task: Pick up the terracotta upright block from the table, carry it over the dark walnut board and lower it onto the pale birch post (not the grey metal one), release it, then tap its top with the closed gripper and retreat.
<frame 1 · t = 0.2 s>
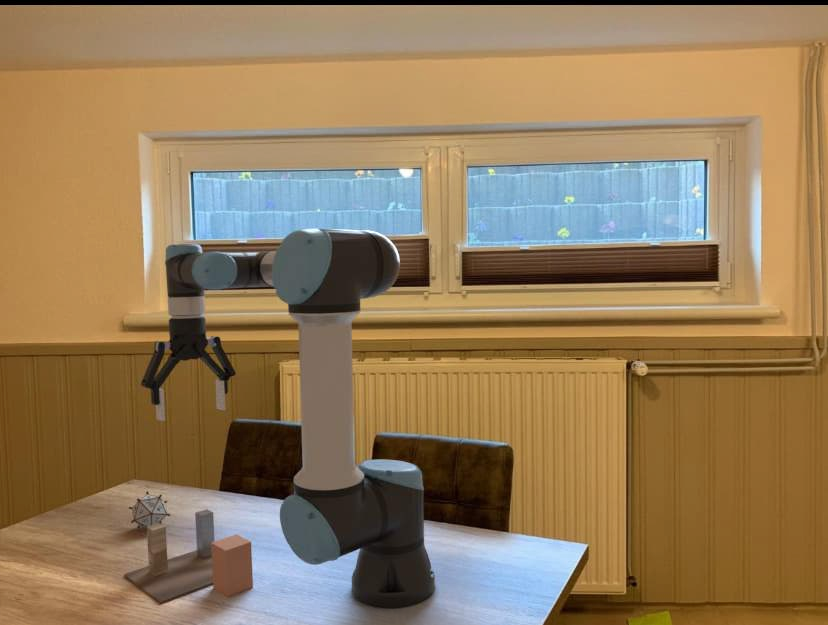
hand: (191, 414, 147), 28 cm above the table, fingers open, 13 cm apart
grey post: (206, 557, 138), resting on board
knobbed grey icosahedron: (150, 529, 155), on the table
terracotta upright block: (233, 587, 125), on the table
birch post: (158, 573, 131), resting on board
board: (187, 573, 131), on the table
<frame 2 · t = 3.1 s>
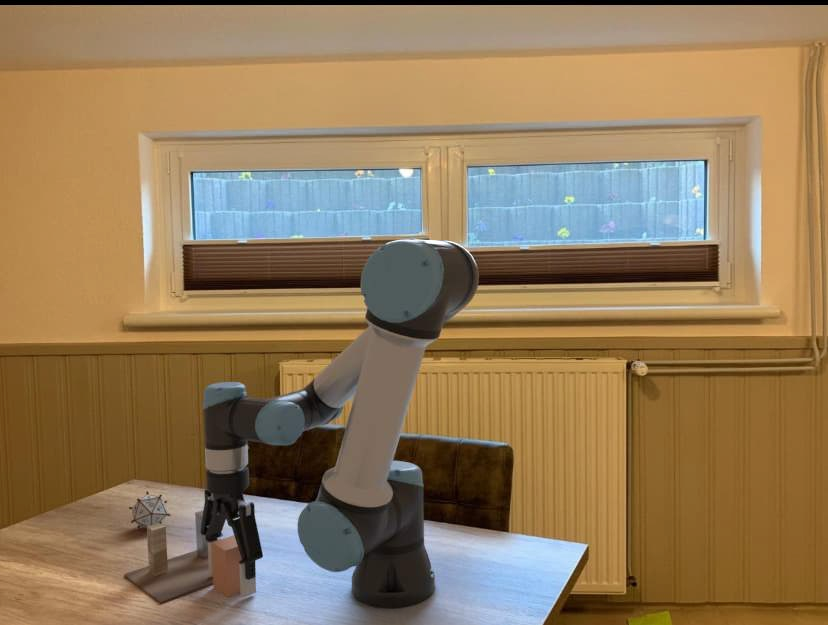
hand: (231, 584, 125), 1 cm above the table, fingers open, 11 cm apart
nothing on the table moved.
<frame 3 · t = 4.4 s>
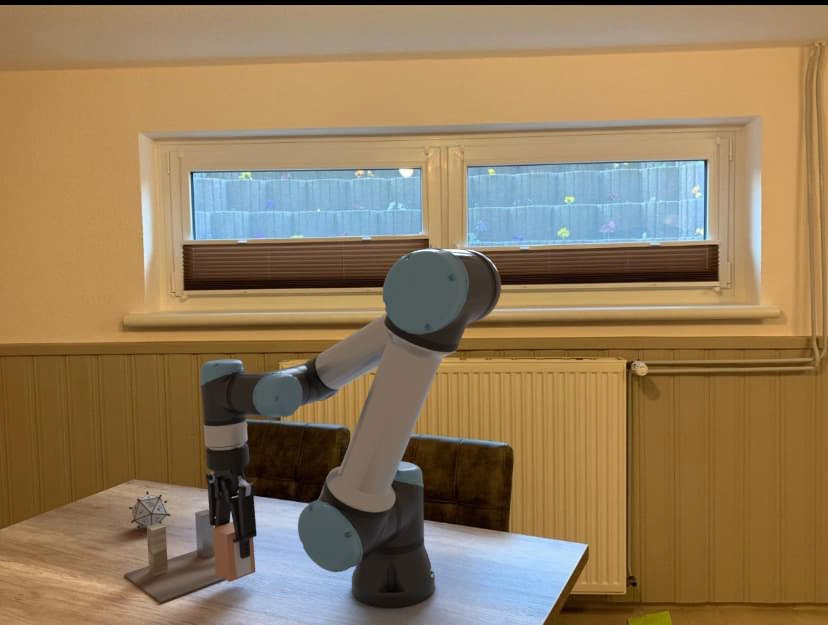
hand: (235, 569, 124), 4 cm above the table, fingers closed on terracotta upright block, 5 cm apart
terracotta upright block: (235, 572, 124), point 3 cm above the table, touching gripper
everything else where it was.
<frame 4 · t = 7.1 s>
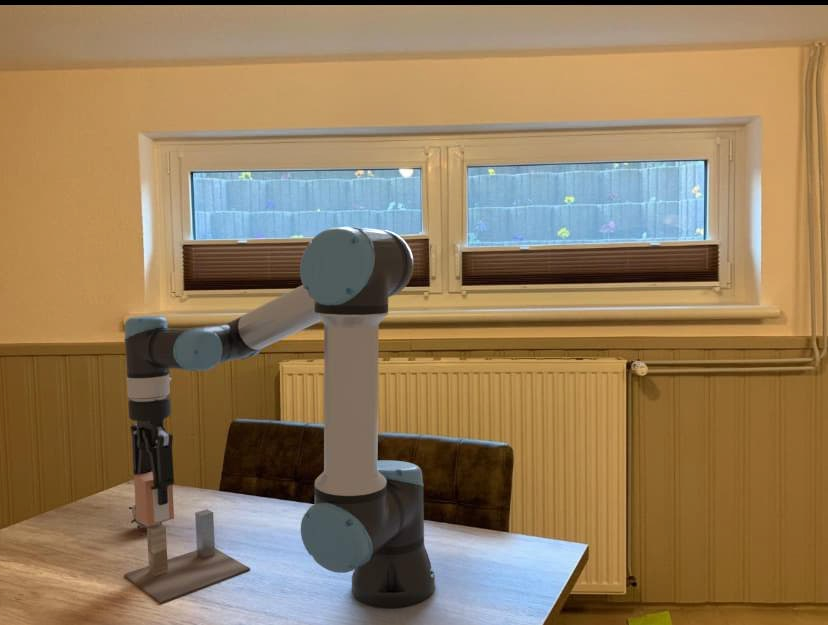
hand: (154, 515, 131), 11 cm above the table, fingers closed on terracotta upright block, 5 cm apart
terracotta upright block: (155, 518, 131), point 11 cm above the table, touching gripper
everything else where it was.
when the fingers open (2 cm above the table, at t = 9.6 s): terracotta upright block stays where it is, resting on birch post.
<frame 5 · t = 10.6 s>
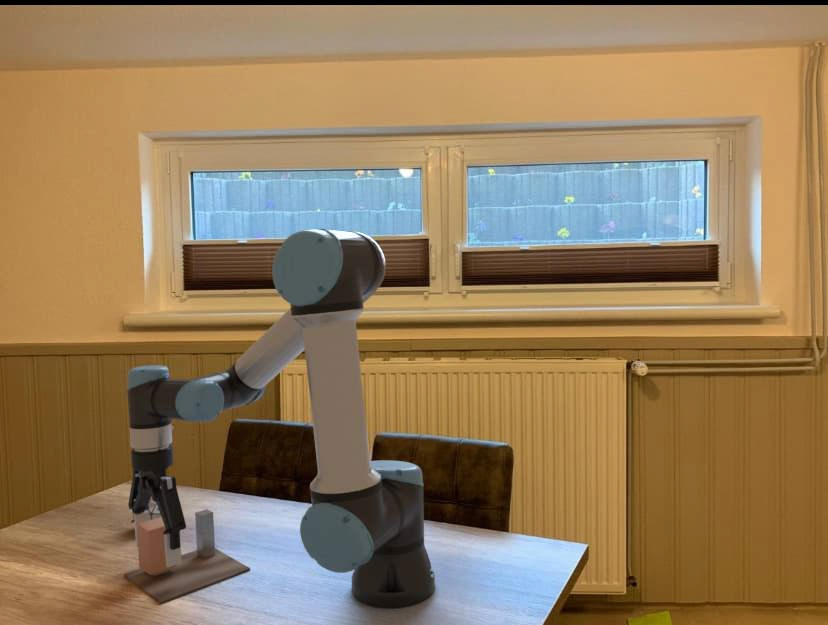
hand: (158, 554, 131), 4 cm above the table, fingers open, 13 cm apart
terracotta upright block: (158, 566, 131), point 1 cm above the table, touching birch post
everything else where it was.
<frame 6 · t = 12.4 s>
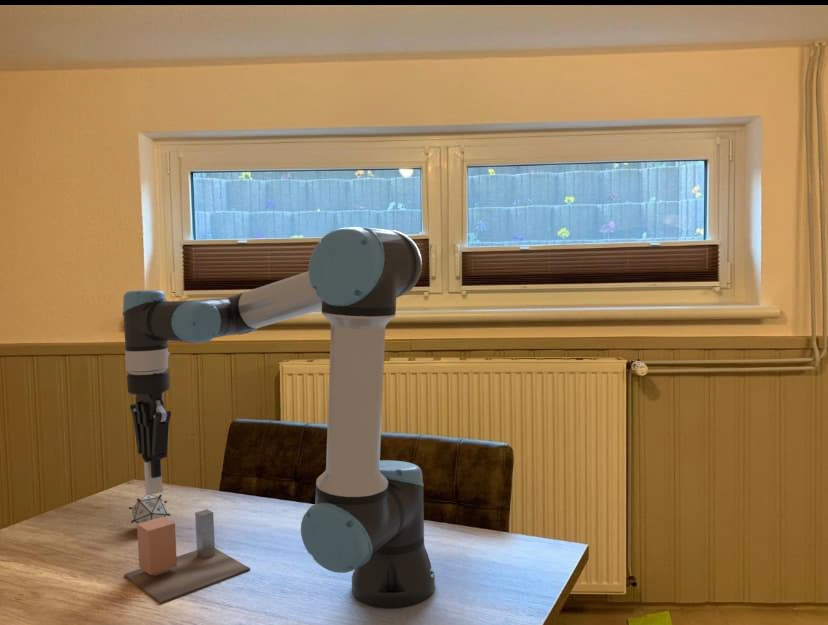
hand: (154, 492, 130), 16 cm above the table, fingers closed
nothing on the table moved.
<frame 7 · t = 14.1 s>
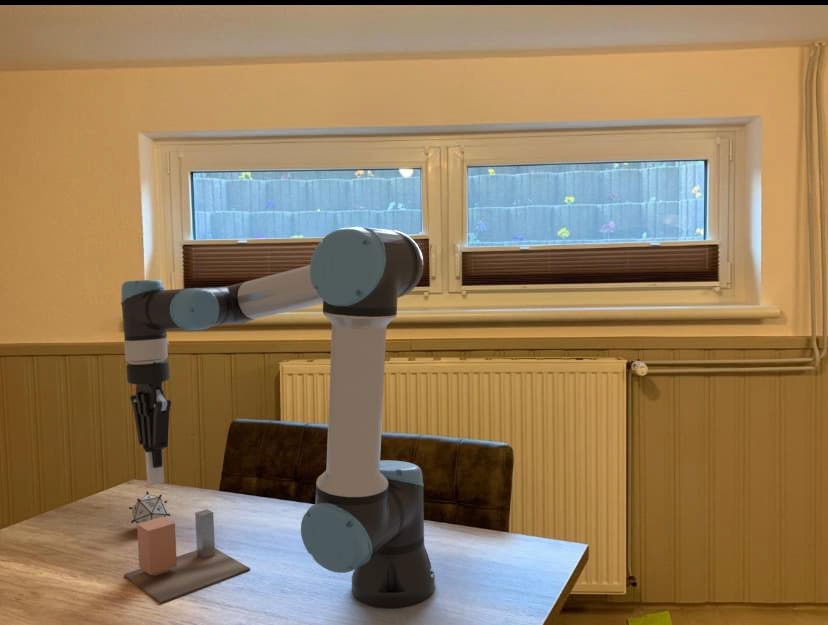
hand: (155, 482, 130), 18 cm above the table, fingers closed
nothing on the table moved.
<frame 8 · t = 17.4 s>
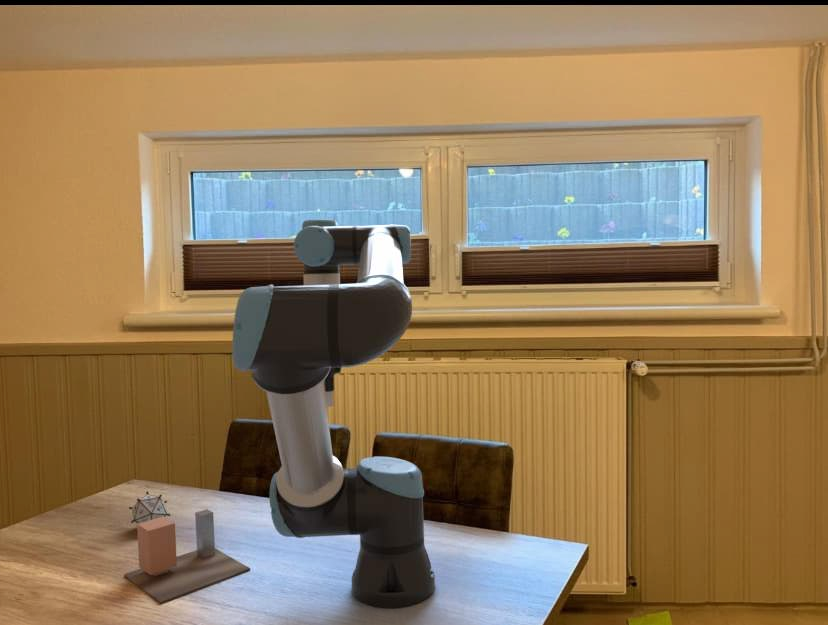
hand: (326, 406, 143), 29 cm above the table, fingers closed
nothing on the table moved.
at the end: terracotta upright block 0.0 cm from the birch post (horizontally); terracotta upright block point 1.4 cm above the table; terracotta upright block tilted 0° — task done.
